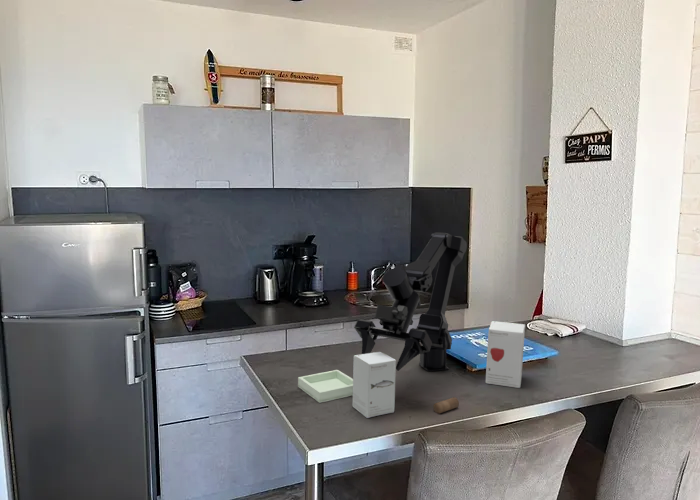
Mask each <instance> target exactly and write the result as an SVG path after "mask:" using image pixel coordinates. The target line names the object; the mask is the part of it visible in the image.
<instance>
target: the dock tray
mask: <svg viewBox="0 0 700 500" xmlns="http://www.w3.org/2000/svg"><path fill="white" fill-rule="evenodd" d="M297 387H298V388H299V389H301V390H302V391H303V392H304V393H305V394H307V395H308V396H310V397H311V398H313V399H314V400H315V401H316V402H318V403H325V402H330V401H333V400H334V401H335V400H338V399H342V398H347V397H353V377H351V376H349V375H347V374H346V373H344V372H342V371H340V370H339V369H334V370H330V371H325V372H324V371H323V372H318V373H314V374H309V375H303V376H298V377H297Z"/></svg>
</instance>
